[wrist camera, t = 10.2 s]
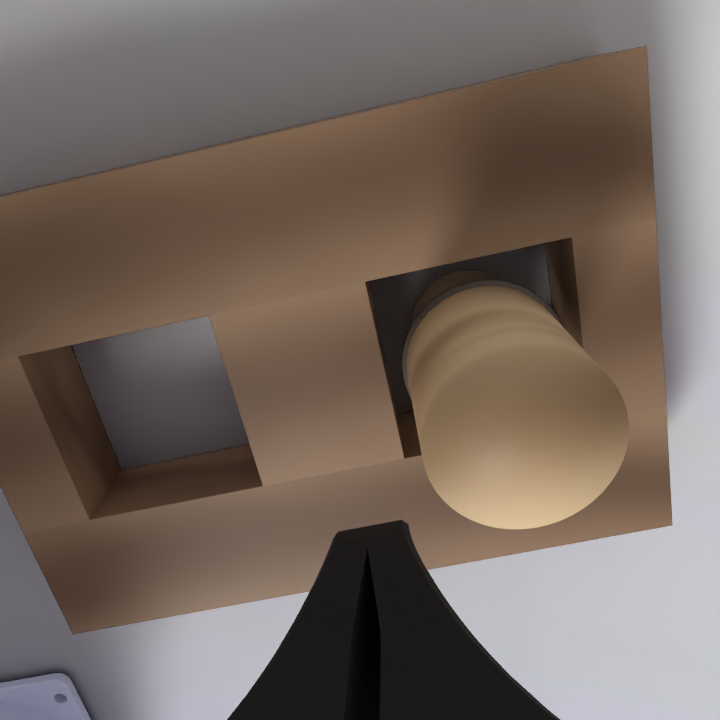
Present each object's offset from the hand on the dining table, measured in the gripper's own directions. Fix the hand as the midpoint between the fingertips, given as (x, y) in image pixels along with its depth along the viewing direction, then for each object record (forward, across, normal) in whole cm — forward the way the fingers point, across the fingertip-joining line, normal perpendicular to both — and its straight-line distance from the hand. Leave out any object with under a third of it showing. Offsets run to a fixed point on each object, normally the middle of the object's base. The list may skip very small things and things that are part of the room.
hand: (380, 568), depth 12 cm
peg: (+10, -3, -1) cm, 11 cm away
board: (+10, +2, -1) cm, 10 cm away
